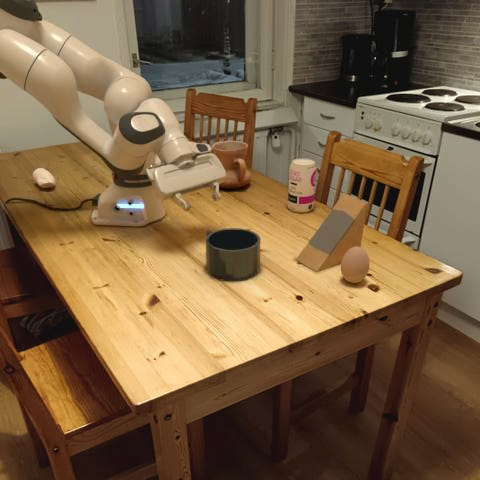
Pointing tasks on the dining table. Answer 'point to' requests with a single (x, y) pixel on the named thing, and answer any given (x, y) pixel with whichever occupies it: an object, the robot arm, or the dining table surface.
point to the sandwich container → (336, 234)
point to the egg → (355, 264)
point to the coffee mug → (232, 254)
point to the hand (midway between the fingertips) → (203, 204)
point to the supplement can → (301, 185)
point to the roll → (43, 178)
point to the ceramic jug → (233, 163)
